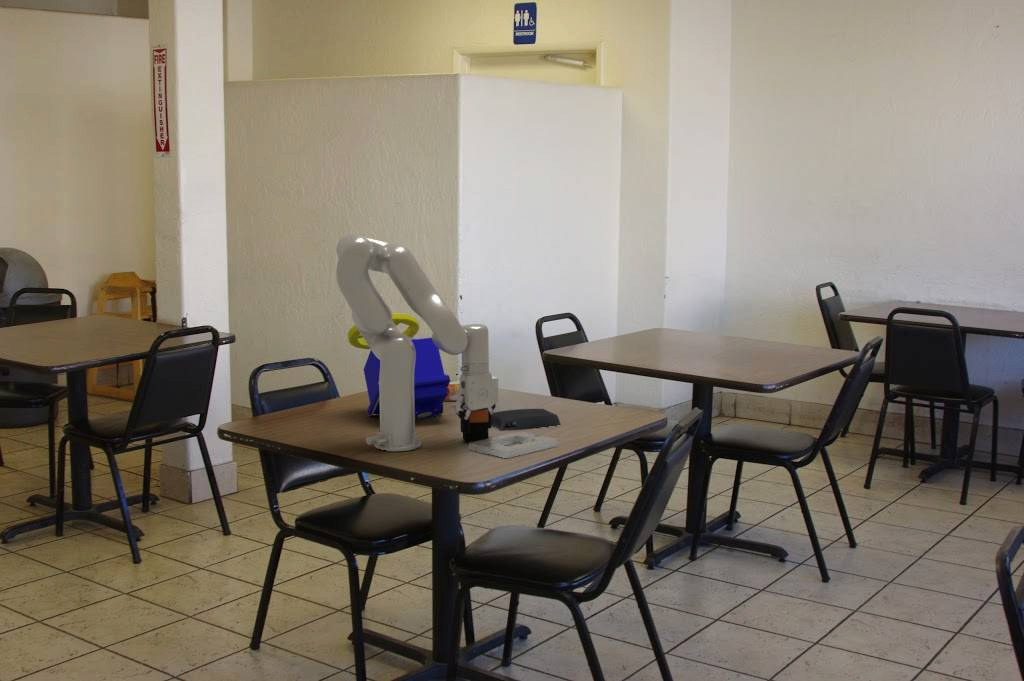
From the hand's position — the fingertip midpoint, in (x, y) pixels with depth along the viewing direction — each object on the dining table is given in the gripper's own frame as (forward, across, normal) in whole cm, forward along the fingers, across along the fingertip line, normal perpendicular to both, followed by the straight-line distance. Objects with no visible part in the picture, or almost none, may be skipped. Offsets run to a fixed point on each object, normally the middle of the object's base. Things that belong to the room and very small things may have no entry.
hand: (476, 429), depth 313 cm
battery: (+3, 0, 0) cm, 3 cm away
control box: (+3, +5, +40) cm, 41 cm away
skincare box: (+3, +27, +23) cm, 36 cm away
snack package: (+4, +35, +50) cm, 61 cm away
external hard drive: (+4, +25, +5) cm, 26 cm away
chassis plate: (+3, +1, -14) cm, 14 cm away
